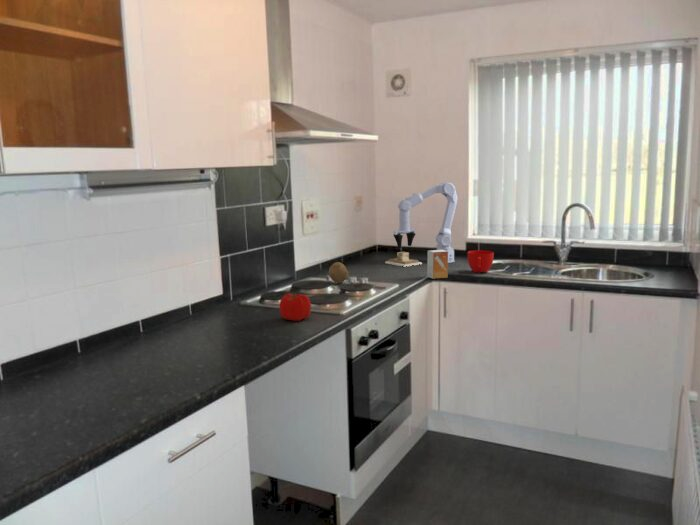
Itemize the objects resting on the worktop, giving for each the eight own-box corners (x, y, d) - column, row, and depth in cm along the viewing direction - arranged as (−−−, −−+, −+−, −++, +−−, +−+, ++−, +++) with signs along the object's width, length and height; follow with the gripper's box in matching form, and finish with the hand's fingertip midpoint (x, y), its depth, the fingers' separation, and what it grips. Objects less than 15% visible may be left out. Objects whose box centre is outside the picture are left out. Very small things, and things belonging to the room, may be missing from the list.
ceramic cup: (465, 275, 284) (465, 254, 282) (468, 269, 300) (468, 250, 298) (492, 276, 280) (492, 255, 279) (493, 270, 296) (494, 250, 295)
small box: (433, 279, 275) (433, 252, 273) (426, 276, 281) (427, 250, 279) (448, 277, 278) (448, 251, 276) (441, 275, 284) (442, 249, 282)
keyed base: (422, 264, 317) (422, 260, 316) (404, 266, 309) (404, 262, 309) (402, 260, 329) (402, 256, 329) (385, 263, 322) (385, 259, 321)
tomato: (317, 318, 207) (317, 293, 206) (293, 325, 199) (292, 299, 197) (297, 313, 214) (296, 289, 213) (272, 320, 206) (271, 295, 204)
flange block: (393, 261, 322) (393, 252, 321) (401, 260, 325) (401, 251, 324) (404, 263, 314) (404, 254, 313) (413, 262, 317) (413, 253, 316)
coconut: (325, 282, 271) (324, 261, 269) (342, 280, 275) (341, 259, 273) (333, 285, 263) (333, 264, 261) (351, 283, 267) (350, 262, 265)
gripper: (409, 220, 325) (409, 244, 327) (389, 222, 316) (389, 247, 318) (417, 221, 319) (417, 245, 321) (398, 223, 310) (398, 248, 313)
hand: (404, 246), depth 319 cm, fingers open, 7 cm apart
